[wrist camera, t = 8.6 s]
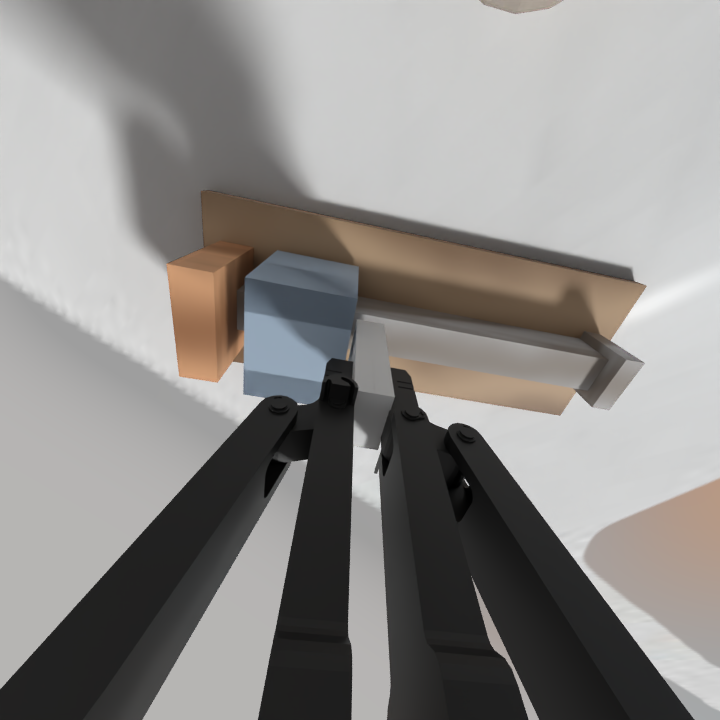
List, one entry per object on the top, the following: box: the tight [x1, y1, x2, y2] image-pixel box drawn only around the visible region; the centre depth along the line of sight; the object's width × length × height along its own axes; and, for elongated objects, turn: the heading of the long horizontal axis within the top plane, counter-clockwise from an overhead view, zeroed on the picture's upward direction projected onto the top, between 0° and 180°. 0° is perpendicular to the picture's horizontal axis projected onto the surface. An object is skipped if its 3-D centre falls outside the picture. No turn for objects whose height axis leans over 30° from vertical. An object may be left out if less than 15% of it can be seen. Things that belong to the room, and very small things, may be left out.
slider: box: [244, 250, 359, 404], centre depth 18 cm, size 6×5×6 cm
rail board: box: [167, 190, 646, 415], centre depth 19 cm, size 11×28×7 cm, turn 79°
